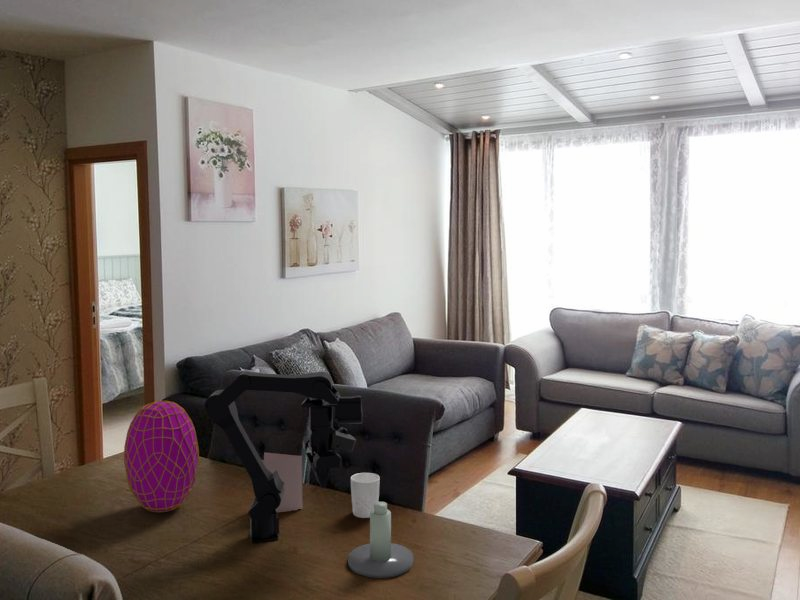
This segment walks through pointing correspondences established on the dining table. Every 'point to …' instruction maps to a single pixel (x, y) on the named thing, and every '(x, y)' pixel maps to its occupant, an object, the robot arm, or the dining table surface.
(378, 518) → the pale green bottle
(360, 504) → the white cup
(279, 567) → the dining table surface
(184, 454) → the decorative egg
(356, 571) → the gray round disc
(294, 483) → the greeting card
